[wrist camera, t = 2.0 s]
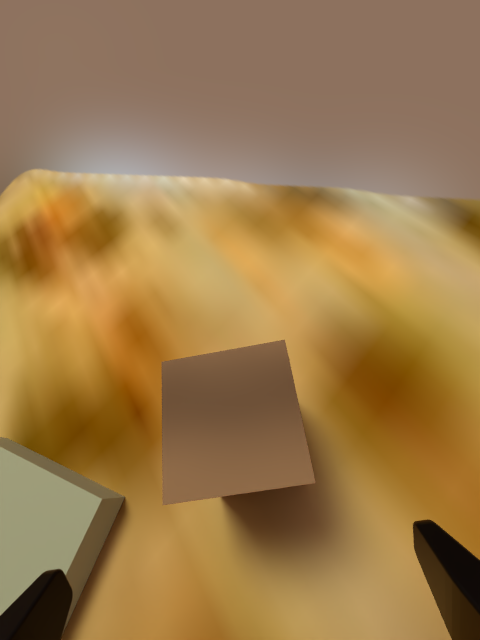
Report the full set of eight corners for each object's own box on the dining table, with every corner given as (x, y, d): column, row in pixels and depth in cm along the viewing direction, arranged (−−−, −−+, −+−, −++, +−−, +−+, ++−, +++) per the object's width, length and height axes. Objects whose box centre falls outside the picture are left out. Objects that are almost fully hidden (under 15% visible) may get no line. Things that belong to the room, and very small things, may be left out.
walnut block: (306, 482, 18) (315, 483, 10) (219, 495, 18) (162, 505, 10) (288, 396, 20) (284, 339, 12) (212, 408, 20) (161, 361, 13)
